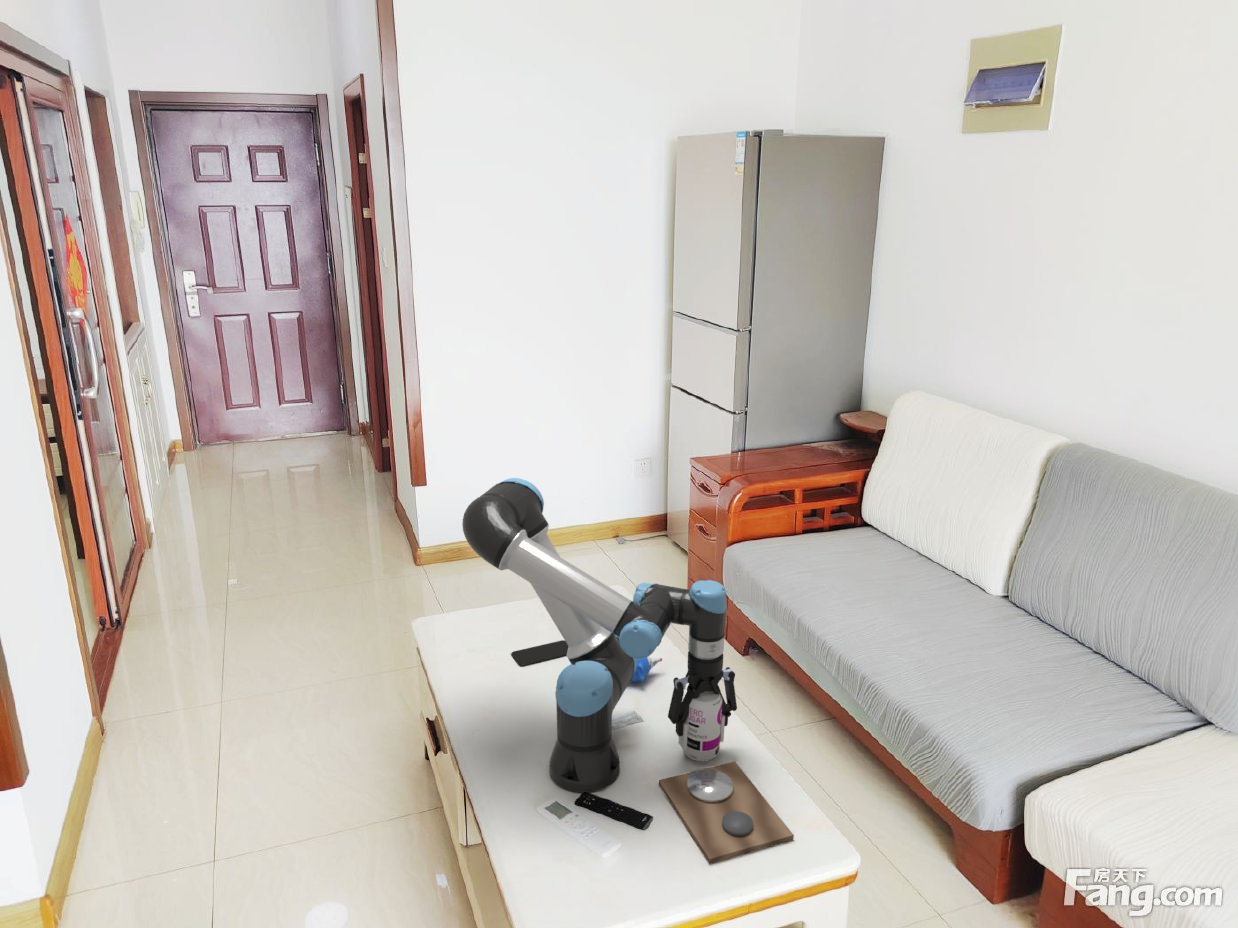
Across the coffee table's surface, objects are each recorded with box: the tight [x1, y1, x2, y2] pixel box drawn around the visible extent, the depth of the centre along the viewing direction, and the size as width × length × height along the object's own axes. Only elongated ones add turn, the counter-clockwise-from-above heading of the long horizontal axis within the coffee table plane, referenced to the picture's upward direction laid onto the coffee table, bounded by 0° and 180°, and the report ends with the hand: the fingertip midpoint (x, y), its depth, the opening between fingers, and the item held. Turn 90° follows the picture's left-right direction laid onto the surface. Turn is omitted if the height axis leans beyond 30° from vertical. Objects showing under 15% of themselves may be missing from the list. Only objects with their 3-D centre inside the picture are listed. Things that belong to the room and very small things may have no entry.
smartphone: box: [510, 639, 568, 668], centre depth 236 cm, size 8×1×16 cm
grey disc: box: [722, 811, 753, 837], centre depth 172 cm, size 6×6×1 cm
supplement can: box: [681, 690, 722, 762], centre depth 193 cm, size 8×8×15 cm
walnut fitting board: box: [658, 760, 795, 865], centre depth 178 cm, size 18×24×1 cm
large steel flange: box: [687, 768, 733, 803], centre depth 183 cm, size 10×10×1 cm
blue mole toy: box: [631, 656, 663, 683], centre depth 224 cm, size 12×12×8 cm
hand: (700, 742), depth 194 cm, fingers closed on supplement can, 8 cm apart
